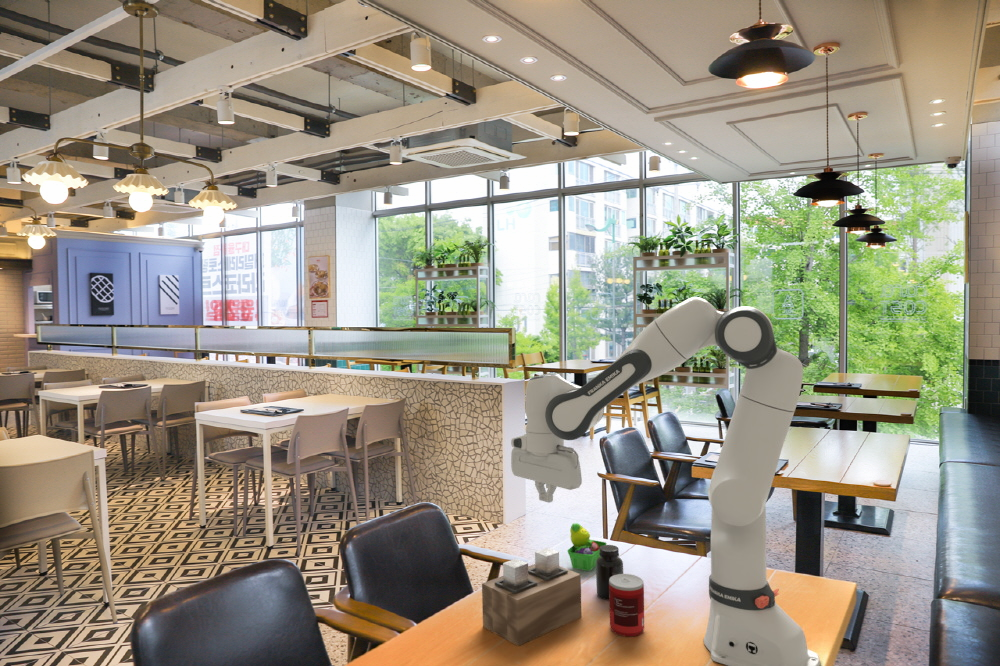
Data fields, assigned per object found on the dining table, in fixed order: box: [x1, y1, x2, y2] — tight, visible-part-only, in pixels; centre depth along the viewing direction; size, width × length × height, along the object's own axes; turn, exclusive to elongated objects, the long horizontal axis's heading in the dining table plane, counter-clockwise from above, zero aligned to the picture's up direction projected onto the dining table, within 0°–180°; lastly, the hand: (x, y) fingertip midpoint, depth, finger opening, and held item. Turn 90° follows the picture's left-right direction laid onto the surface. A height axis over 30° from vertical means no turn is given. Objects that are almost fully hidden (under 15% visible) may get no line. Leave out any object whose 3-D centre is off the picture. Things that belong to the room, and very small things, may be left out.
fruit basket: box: [567, 522, 608, 572], centre depth 187 cm, size 11×9×11 cm
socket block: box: [481, 563, 582, 647], centre depth 153 cm, size 12×20×11 cm, turn 131°
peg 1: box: [502, 558, 529, 590], centre depth 149 cm, size 4×4×9 cm
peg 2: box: [534, 547, 560, 577], centre depth 156 cm, size 4×4×9 cm
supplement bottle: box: [595, 544, 624, 601], centre depth 166 cm, size 7×7×12 cm
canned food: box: [608, 573, 645, 638], centre depth 148 cm, size 8×8×11 cm
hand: (546, 501), depth 155 cm, fingers closed
